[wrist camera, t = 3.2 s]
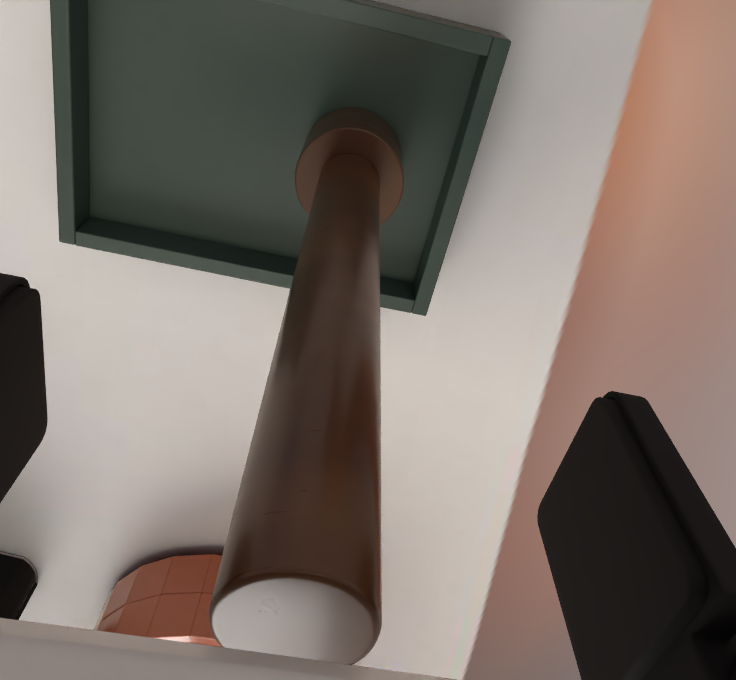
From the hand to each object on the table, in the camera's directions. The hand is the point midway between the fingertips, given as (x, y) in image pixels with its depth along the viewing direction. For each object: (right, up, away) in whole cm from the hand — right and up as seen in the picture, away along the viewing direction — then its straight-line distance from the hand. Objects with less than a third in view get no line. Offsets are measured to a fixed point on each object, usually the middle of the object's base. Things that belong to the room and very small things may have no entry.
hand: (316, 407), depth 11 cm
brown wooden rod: (0, +8, +13) cm, 15 cm away
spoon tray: (-3, +9, +13) cm, 16 cm away
